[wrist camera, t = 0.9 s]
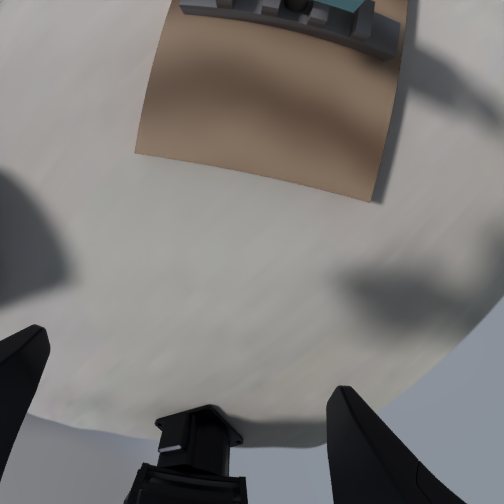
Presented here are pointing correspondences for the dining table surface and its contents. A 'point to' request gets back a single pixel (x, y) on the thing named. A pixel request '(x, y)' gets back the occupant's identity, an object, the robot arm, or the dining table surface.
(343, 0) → the sleeve
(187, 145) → the wooden base post stand
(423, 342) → the dining table surface
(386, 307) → the dining table surface
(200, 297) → the dining table surface
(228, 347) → the dining table surface
